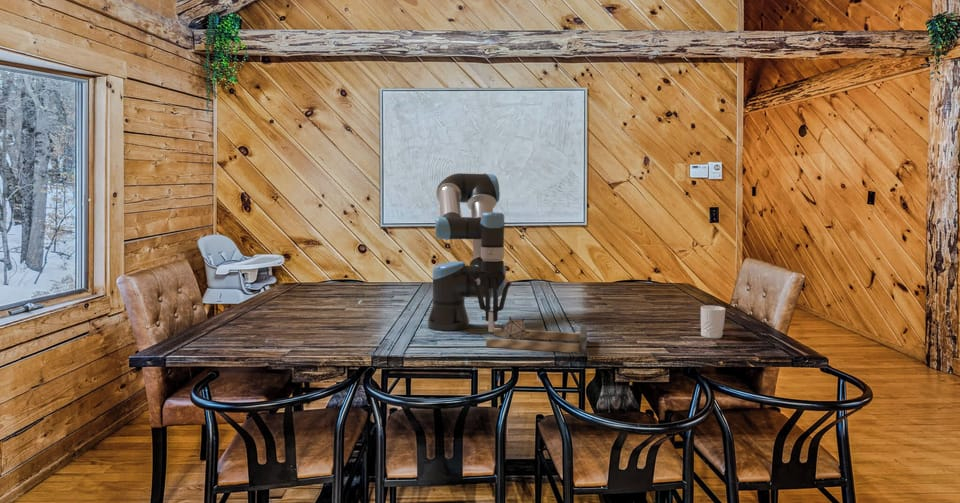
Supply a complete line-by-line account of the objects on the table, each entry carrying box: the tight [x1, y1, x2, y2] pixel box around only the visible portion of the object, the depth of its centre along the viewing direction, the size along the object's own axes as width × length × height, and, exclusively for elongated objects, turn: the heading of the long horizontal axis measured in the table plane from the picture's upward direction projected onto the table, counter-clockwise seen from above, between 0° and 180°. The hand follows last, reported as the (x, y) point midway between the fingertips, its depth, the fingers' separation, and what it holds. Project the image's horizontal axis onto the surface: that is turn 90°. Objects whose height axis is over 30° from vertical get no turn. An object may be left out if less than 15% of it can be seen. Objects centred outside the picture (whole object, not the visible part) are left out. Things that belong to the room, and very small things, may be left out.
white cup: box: [700, 304, 726, 339], centre depth 193 cm, size 8×8×10 cm
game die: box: [500, 316, 529, 340], centre depth 183 cm, size 9×8×10 cm
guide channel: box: [485, 325, 588, 354], centre depth 182 cm, size 31×15×5 cm, turn 78°
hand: (491, 330), depth 184 cm, fingers closed
